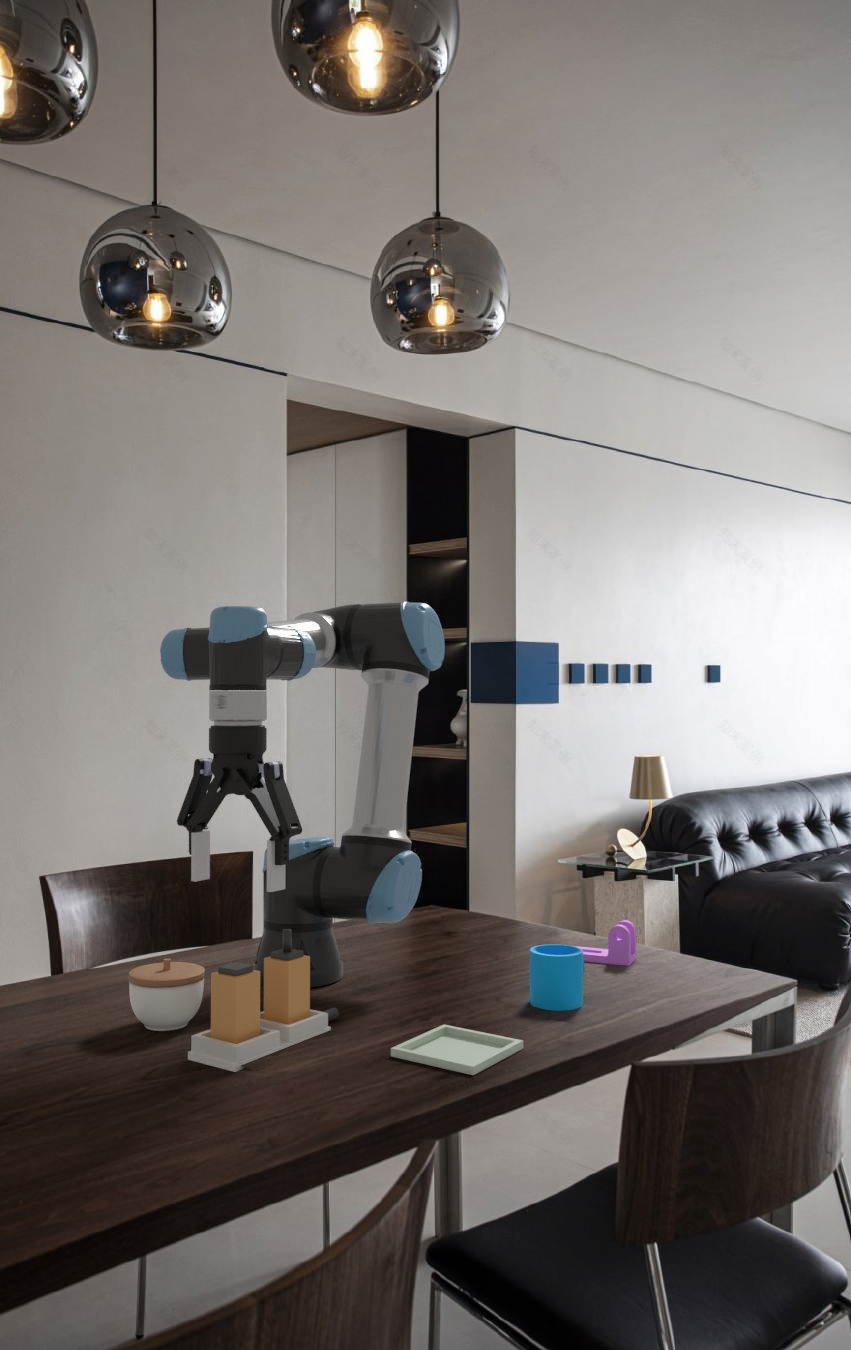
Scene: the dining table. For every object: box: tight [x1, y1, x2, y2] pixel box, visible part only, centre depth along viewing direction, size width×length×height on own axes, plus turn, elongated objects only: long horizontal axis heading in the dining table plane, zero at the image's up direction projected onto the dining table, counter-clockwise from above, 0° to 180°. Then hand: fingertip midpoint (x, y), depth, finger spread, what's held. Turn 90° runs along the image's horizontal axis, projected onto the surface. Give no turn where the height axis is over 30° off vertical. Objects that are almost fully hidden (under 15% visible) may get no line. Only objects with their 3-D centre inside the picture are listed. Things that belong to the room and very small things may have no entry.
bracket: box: [573, 919, 637, 967], centre depth 199 cm, size 13×6×7 cm, turn 66°
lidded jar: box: [127, 958, 206, 1032], centre depth 158 cm, size 11×11×9 cm
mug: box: [529, 943, 585, 1012], centre depth 171 cm, size 12×8×8 cm
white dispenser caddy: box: [187, 929, 340, 1073], centre depth 151 cm, size 25×8×15 cm, turn 146°
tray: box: [390, 1023, 524, 1076], centre depth 144 cm, size 13×13×2 cm
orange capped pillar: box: [210, 961, 261, 1044], centre depth 144 cm, size 4×4×11 cm
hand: (237, 885), depth 145 cm, fingers open, 13 cm apart
